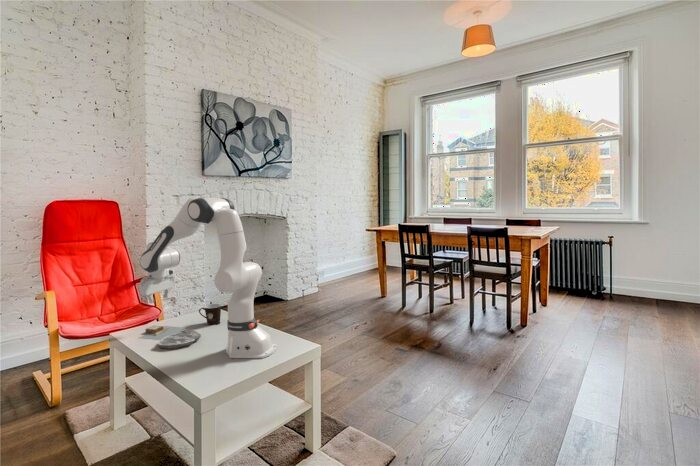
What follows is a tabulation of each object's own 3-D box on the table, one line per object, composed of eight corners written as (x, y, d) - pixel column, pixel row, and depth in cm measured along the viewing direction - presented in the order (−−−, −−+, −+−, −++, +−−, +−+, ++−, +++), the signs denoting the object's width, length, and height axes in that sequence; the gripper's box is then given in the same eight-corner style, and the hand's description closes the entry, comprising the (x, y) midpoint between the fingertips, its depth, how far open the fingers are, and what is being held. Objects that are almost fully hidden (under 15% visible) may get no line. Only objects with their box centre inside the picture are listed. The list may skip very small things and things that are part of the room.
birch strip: (169, 329, 193) (169, 327, 193) (156, 335, 185) (156, 333, 184) (167, 329, 193) (167, 327, 193) (154, 335, 185) (154, 333, 185)
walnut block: (163, 326, 192) (153, 325, 193) (155, 329, 187) (145, 328, 188) (163, 330, 192) (153, 329, 194) (155, 334, 187) (145, 333, 188)
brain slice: (184, 353, 164) (184, 346, 164) (151, 350, 168) (150, 344, 167) (209, 337, 184) (209, 331, 183) (179, 335, 187) (178, 329, 187)
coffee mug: (225, 322, 204) (224, 305, 203) (212, 327, 197) (211, 309, 196) (211, 319, 210) (210, 302, 209) (198, 323, 203) (197, 306, 202)
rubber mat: (187, 328, 196) (187, 327, 196) (162, 341, 178) (162, 340, 178) (165, 326, 199) (165, 325, 199) (138, 338, 182) (138, 337, 182)
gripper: (146, 277, 176) (148, 306, 177) (176, 270, 195) (178, 295, 197) (135, 277, 177) (137, 305, 178) (166, 269, 197) (168, 295, 198)
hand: (159, 300), depth 188 cm, fingers open, 8 cm apart
